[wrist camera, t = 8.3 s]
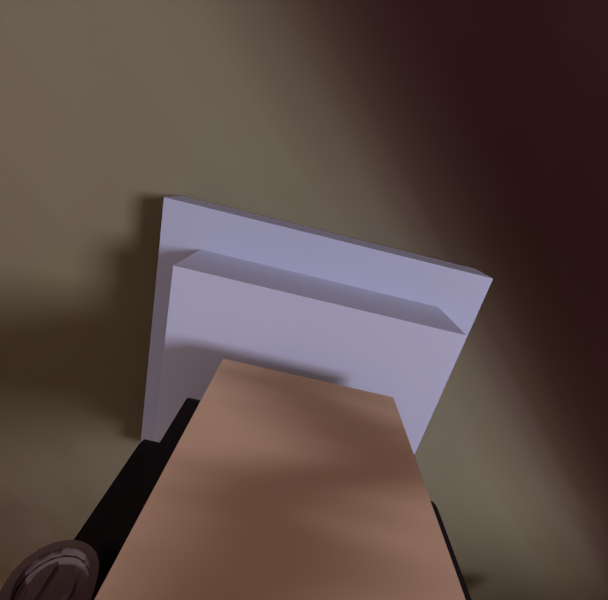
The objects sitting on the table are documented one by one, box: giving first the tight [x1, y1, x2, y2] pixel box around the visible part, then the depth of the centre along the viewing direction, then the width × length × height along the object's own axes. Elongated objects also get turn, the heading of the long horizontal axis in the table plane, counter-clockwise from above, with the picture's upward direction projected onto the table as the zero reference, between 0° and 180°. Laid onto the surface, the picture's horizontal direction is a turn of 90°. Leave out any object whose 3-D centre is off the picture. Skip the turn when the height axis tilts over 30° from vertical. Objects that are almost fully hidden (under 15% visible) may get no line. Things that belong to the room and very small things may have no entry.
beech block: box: [94, 359, 466, 600], centre depth 8 cm, size 5×5×6 cm
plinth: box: [141, 196, 493, 455], centre depth 13 cm, size 12×12×4 cm
